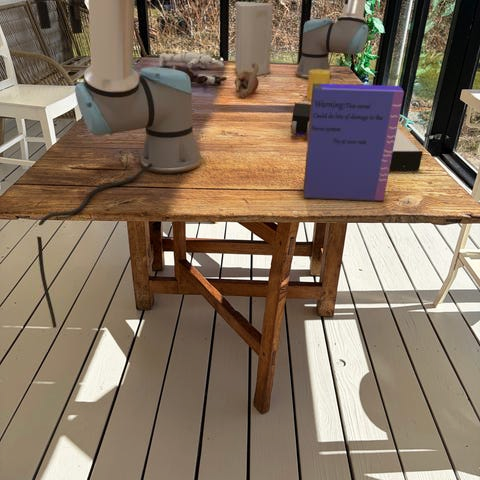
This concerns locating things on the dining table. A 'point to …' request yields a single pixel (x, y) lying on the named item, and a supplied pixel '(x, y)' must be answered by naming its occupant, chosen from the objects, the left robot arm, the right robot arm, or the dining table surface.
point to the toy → (188, 59)
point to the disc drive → (405, 154)
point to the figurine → (200, 79)
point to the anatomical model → (247, 81)
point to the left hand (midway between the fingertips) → (61, 31)
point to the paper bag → (253, 36)
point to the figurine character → (301, 119)
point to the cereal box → (351, 141)
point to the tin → (317, 79)
